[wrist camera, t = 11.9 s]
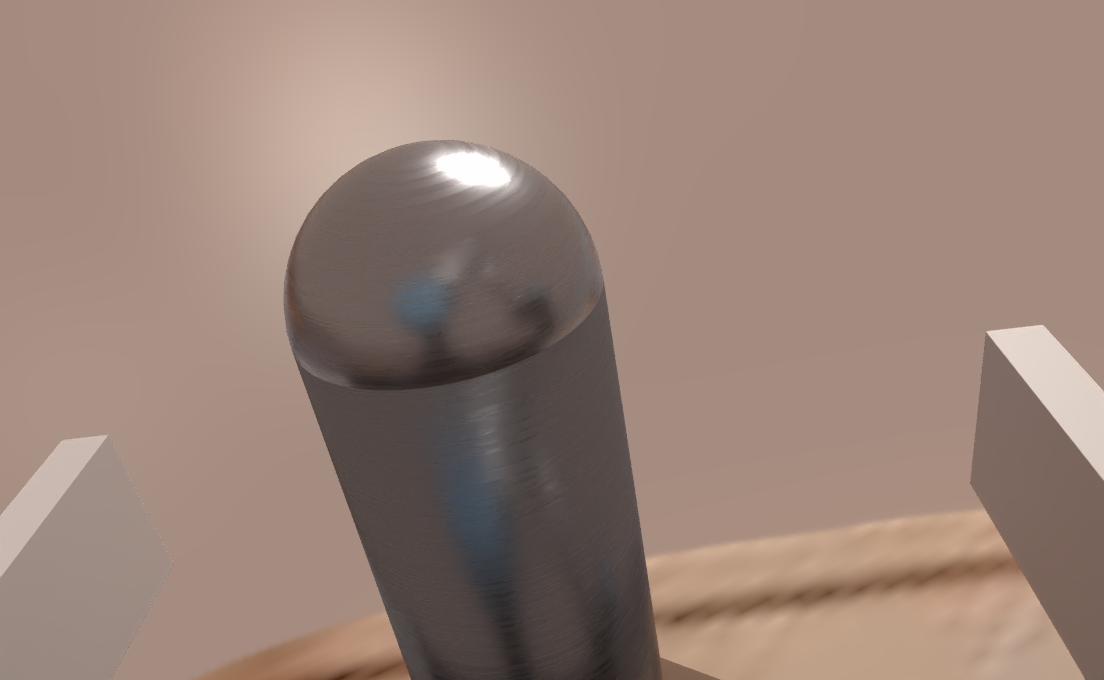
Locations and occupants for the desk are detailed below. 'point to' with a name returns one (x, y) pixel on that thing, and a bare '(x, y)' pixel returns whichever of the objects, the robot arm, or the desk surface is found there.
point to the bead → (681, 672)
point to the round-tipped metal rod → (475, 415)
